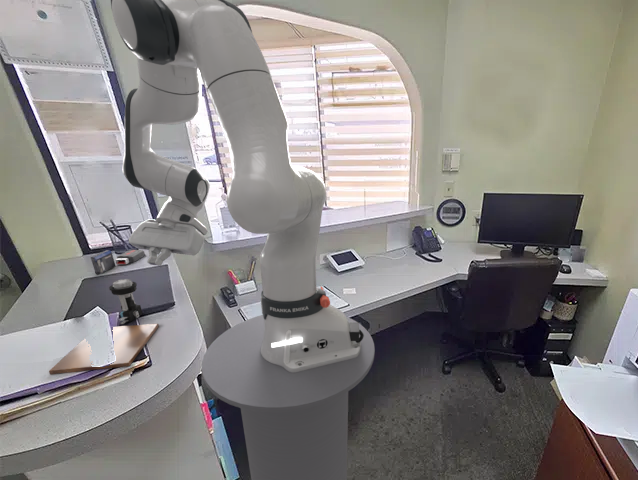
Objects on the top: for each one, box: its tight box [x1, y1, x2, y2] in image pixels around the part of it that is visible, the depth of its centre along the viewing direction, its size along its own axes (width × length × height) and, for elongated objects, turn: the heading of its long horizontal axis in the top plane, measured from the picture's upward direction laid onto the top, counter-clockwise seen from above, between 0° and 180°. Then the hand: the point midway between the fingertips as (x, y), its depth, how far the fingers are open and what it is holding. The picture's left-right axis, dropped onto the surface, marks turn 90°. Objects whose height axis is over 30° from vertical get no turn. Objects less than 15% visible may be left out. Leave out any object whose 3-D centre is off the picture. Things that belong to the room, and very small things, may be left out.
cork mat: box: [48, 323, 160, 375], centre depth 67 cm, size 13×16×1 cm
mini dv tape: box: [90, 249, 116, 275], centre depth 107 cm, size 8×2×6 cm, turn 9°
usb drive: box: [114, 249, 146, 265], centre depth 119 cm, size 5×12×3 cm, turn 11°
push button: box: [108, 278, 143, 325], centre depth 77 cm, size 7×5×10 cm
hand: (153, 264), depth 83 cm, fingers closed
